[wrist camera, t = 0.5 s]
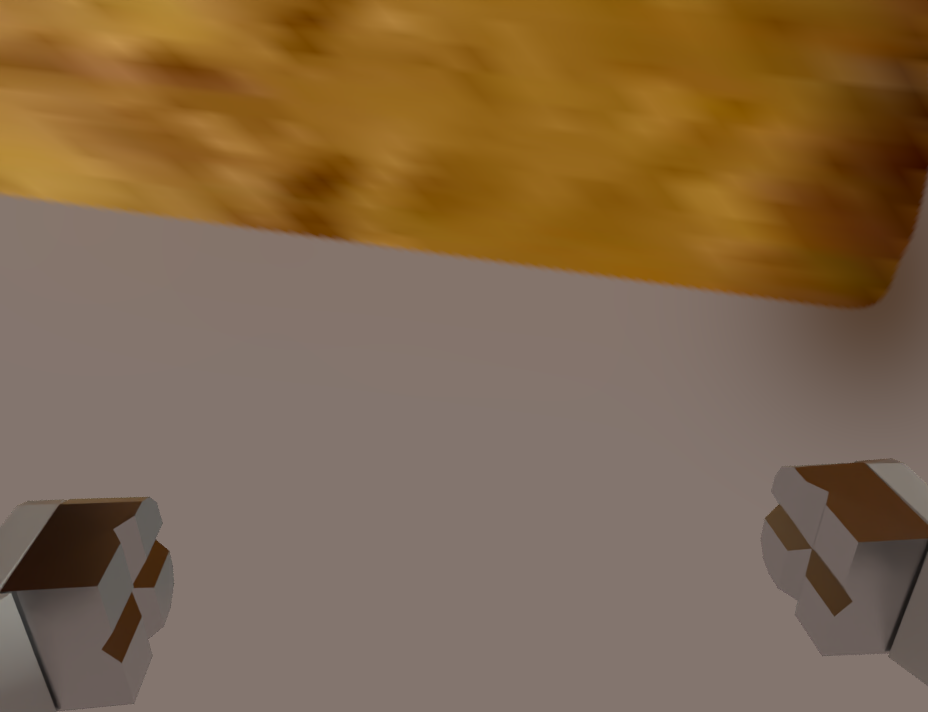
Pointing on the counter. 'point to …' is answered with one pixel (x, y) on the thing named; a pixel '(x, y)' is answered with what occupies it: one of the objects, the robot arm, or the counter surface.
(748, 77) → the counter surface
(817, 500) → the robot arm
